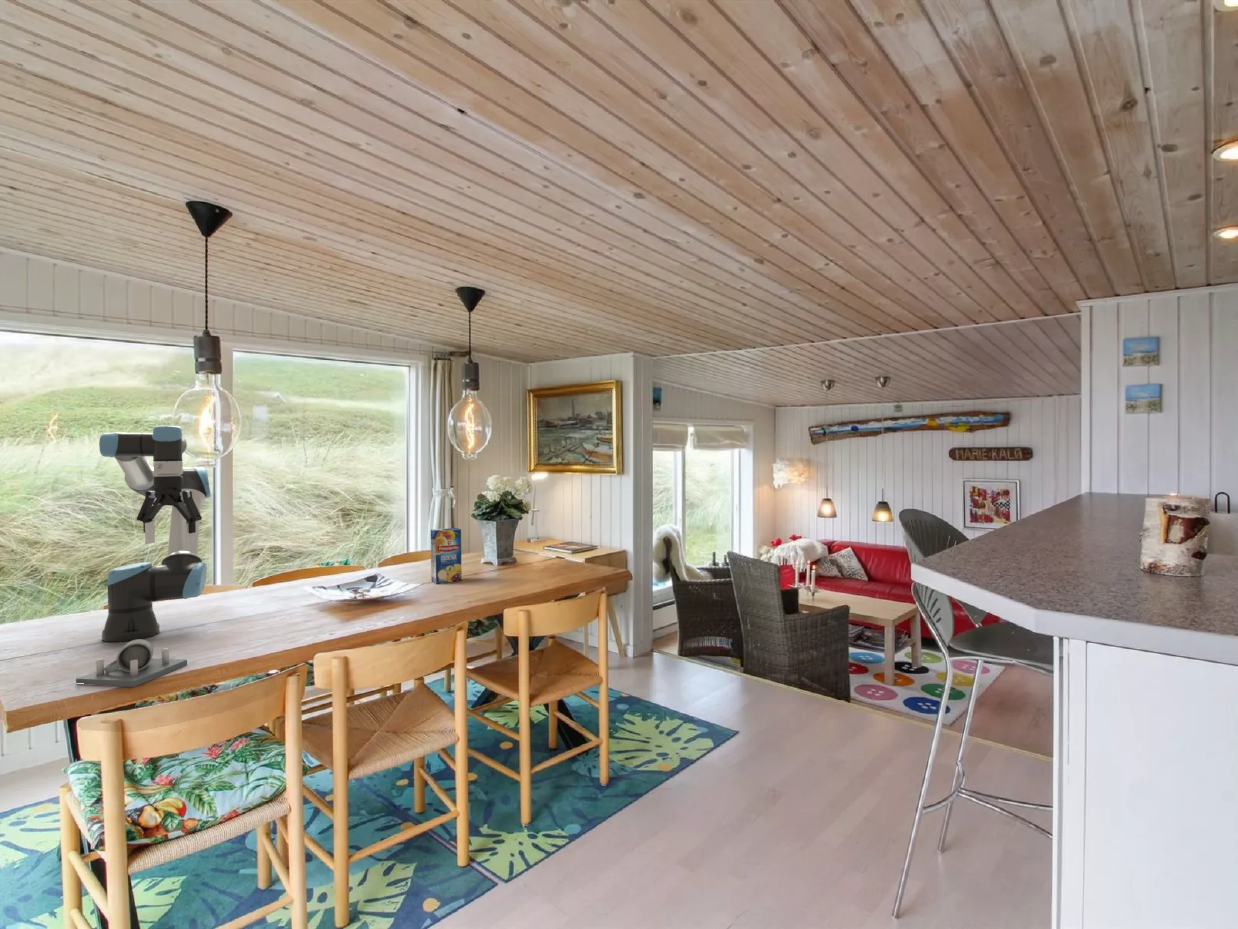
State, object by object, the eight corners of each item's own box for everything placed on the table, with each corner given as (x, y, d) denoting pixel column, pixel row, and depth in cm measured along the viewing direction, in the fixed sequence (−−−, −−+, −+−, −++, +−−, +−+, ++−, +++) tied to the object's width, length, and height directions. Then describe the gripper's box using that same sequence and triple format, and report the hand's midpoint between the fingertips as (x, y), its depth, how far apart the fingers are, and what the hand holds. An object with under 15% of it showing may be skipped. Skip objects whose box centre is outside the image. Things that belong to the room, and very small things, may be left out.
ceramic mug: (154, 661, 180) (153, 634, 180) (152, 669, 173) (151, 641, 173) (106, 669, 174) (104, 641, 174) (102, 677, 168) (101, 648, 167)
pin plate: (76, 684, 167) (75, 663, 167) (133, 662, 184) (132, 643, 184) (134, 686, 165) (134, 665, 165) (187, 664, 182) (186, 645, 182)
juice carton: (456, 578, 303) (455, 527, 302) (461, 581, 296) (461, 529, 296) (431, 581, 296) (430, 529, 296) (435, 584, 290) (435, 531, 289)
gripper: (121, 476, 198) (123, 544, 198) (195, 475, 195) (196, 545, 195) (142, 475, 205) (144, 541, 206) (213, 474, 202) (215, 542, 203)
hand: (169, 543), depth 200 cm, fingers open, 13 cm apart
